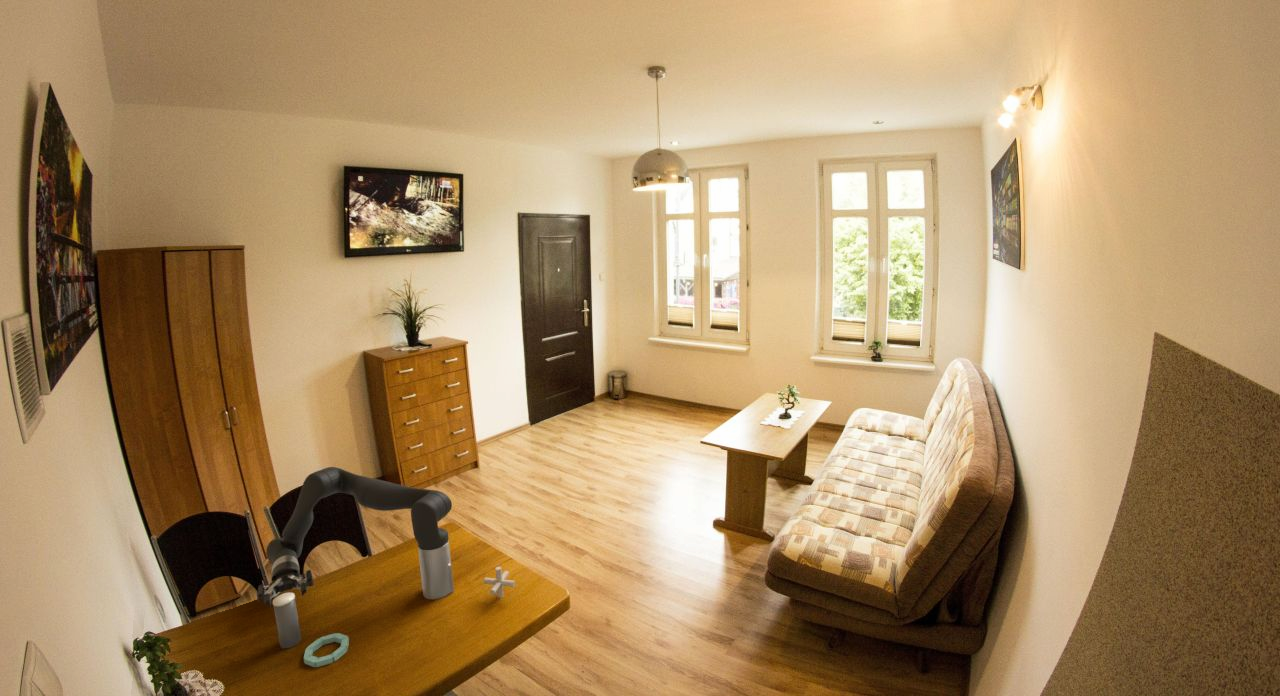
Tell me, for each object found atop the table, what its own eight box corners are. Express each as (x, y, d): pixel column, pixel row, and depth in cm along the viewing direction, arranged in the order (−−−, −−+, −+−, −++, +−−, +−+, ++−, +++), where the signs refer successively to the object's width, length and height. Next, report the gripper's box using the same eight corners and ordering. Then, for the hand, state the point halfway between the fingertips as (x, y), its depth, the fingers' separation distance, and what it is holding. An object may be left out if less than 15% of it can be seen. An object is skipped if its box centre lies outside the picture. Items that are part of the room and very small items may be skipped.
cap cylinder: (302, 633, 153) (296, 590, 150) (299, 645, 148) (293, 601, 146) (281, 639, 151) (274, 595, 148) (278, 651, 146) (270, 606, 144)
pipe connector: (508, 608, 162) (506, 579, 160) (478, 604, 164) (476, 576, 162) (521, 588, 171) (519, 560, 170) (493, 585, 173) (491, 557, 172)
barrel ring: (349, 634, 152) (349, 629, 152) (346, 658, 143) (346, 653, 143) (308, 645, 148) (307, 640, 148) (302, 671, 139) (301, 666, 138)
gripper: (256, 569, 165) (255, 595, 152) (309, 554, 173) (312, 578, 160) (260, 590, 167) (259, 618, 154) (312, 574, 175) (315, 600, 161)
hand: (286, 598), depth 157 cm, fingers open, 8 cm apart
